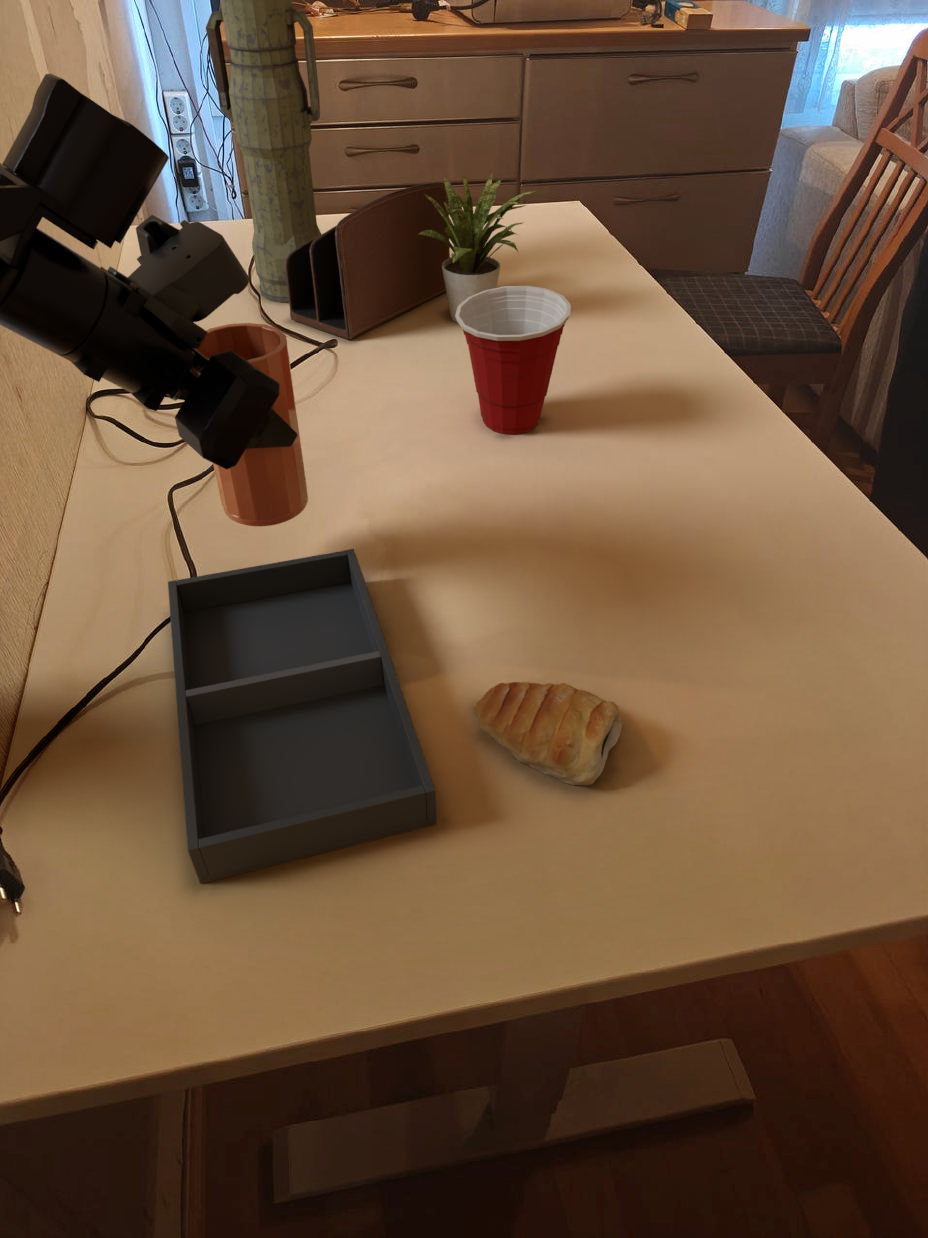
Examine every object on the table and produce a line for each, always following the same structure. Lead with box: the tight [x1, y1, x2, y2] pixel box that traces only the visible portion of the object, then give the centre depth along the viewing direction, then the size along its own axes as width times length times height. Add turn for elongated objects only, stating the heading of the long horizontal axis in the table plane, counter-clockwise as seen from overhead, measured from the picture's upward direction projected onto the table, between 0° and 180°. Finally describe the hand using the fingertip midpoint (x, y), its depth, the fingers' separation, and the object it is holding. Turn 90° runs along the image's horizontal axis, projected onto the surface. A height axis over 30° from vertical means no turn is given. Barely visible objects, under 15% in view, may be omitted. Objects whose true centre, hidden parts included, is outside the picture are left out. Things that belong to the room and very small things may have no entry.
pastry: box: [474, 681, 623, 786], centre depth 56 cm, size 9×7×4 cm
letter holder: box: [285, 181, 451, 341], centre depth 106 cm, size 10×20×14 cm, turn 143°
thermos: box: [205, 0, 322, 304], centre depth 103 cm, size 9×12×35 cm
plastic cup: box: [455, 285, 572, 435], centre depth 85 cm, size 11×11×12 cm
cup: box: [192, 322, 309, 527], centre depth 63 cm, size 6×6×13 cm
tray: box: [167, 548, 438, 884], centre depth 58 cm, size 14×24×3 cm, turn 17°
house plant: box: [419, 171, 539, 323], centre depth 102 cm, size 14×14×16 cm
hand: (269, 420), depth 64 cm, fingers closed on cup, 6 cm apart
